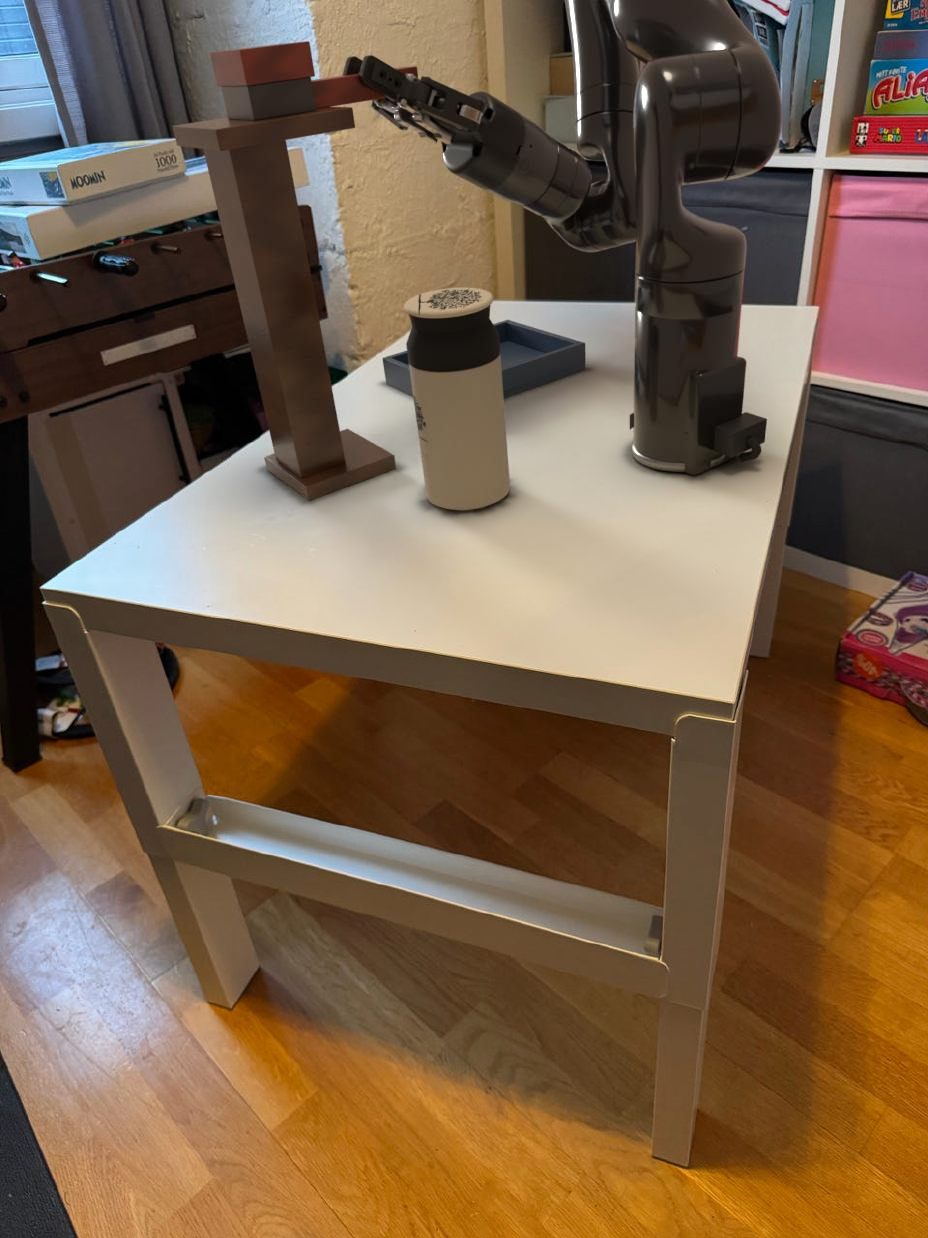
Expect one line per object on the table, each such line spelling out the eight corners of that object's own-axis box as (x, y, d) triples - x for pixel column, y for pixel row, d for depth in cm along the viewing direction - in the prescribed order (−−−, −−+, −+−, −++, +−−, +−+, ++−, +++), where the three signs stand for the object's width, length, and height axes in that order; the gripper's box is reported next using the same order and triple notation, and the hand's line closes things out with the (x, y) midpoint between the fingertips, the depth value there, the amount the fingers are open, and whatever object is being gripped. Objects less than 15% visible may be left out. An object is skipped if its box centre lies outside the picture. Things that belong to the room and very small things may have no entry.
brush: (254, 120, 70) (239, 49, 67) (224, 119, 75) (209, 52, 72) (432, 92, 77) (425, 26, 75) (394, 92, 82) (387, 30, 79)
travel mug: (512, 473, 86) (499, 283, 76) (507, 511, 80) (491, 309, 70) (433, 476, 87) (409, 289, 77) (420, 514, 81) (393, 316, 71)
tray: (585, 369, 108) (585, 342, 107) (455, 415, 100) (452, 387, 98) (509, 343, 119) (507, 319, 118) (386, 383, 111) (382, 357, 109)
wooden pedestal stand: (299, 504, 85) (215, 129, 67) (258, 472, 92) (171, 125, 74) (404, 465, 90) (352, 106, 72) (357, 438, 97) (299, 105, 79)
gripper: (473, 110, 91) (329, 24, 80) (559, 112, 81) (410, 14, 70) (449, 185, 93) (306, 112, 82) (531, 196, 83) (381, 114, 72)
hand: (355, 67), depth 76 cm, fingers closed on brush, 2 cm apart
